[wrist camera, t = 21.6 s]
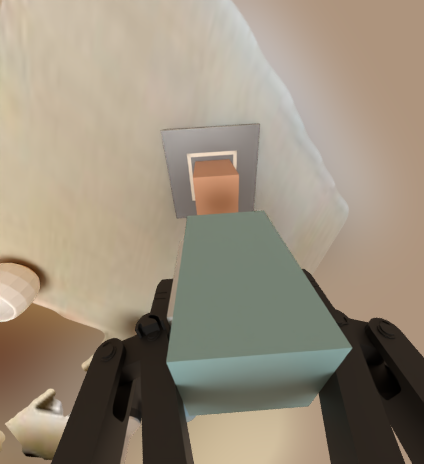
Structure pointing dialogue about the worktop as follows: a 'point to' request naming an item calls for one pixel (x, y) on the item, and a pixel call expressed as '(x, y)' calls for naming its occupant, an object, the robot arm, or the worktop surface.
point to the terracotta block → (216, 187)
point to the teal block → (247, 320)
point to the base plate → (210, 148)
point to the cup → (16, 289)
